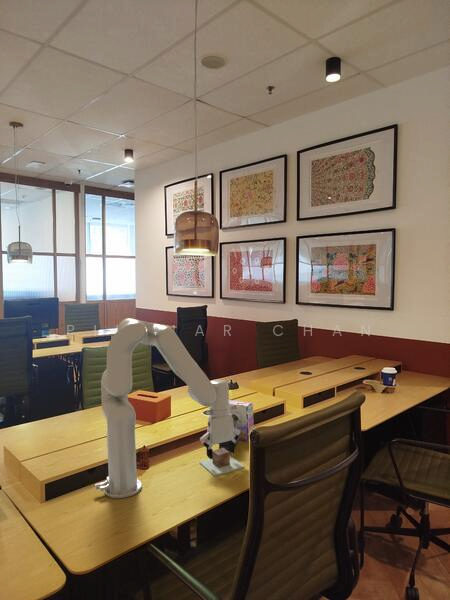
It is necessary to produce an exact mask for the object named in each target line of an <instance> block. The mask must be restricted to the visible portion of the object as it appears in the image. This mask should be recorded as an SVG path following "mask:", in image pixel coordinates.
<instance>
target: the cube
mask: <svg viewBox="0 0 450 600" xmlns="http://www.w3.org/2000/svg"><path fill="white" fill-rule="evenodd" d="M212 452H213V459H212V462H213V464H214V465H215V466H217V467H218V468H221V467H224V466H228V465H230V456H231V455H230V453H231V452H228V451H227V450H226V449H224V448H221V449H219V448H218V449H214V450H213V449H212Z"/></svg>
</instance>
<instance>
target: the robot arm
mask: <svg viewBox="0 0 450 600" xmlns="http://www.w3.org/2000/svg"><path fill="white" fill-rule="evenodd" d="M139 344H143V345H148V346H149V345H150V346H152V347H153V346H155V348H156V349H157V350H158V352H159V353H160V354H161V355H162V356H161V357H163V359H164V360H165V361H166V363H167V365H168V366H169V368H170V369H171V371H173V373H174V374H175V375H176V376H177V377H179V378H180V379H181V380H182V381H183V382H184V383H185V384H186V385H187V386H188V387H187V392H188V393H187V394H188V396H189V397H190V398H191V399H192V400H193V401H195V402H196V403H198V404H199V405H201V406H203V407H209V410H207V411H206V415H207V416H208V415H209V416H208V418H207V419H208V420H207V427H206V428H207V429H206V431H207V432H206V433H204V434H203V435H202V436H201V437H200V438H199V441H200V443H201V445H202V446H204V447H205V448H206V456H207V458H208V459H213V452H212V451H213V448H212V447H213V446H214V445H219V443H223V442H227V441H229V451H230V452H229V453H231V454H235V450H236V446H235V443H236V440H237V439H238V437H239V436H238V435H239V433H240V430H239V429H237V428H234V424H233V419H232V415H231V414H230V413H229V400H230V393H229V392H230V389H229V385H230V384H229V382H228V380H226V379H221V378H217V379H213V380H210V379H209V378H208V376H207V374H206V373H205V372H204V370H202V369H201V367H200V366H199V364H198V363H197V362H196V361H195V360H194V359H193V357H192V356H191V355H190V353H189V351H188V350H187V349H186V347H185V345H184V344H183V343H182V341H181V340H180V338H179V336H178V334H177V333H176V332H175V330H174V329H172V327H170V326H168V325H164V324H159V323H154V322H148V321H144V320H140V319H135V318H131V317H129V318H128V317H127V318H125V319H122V321H120V322H119V323H118V325H117V331H116V332H115V334H114V335H113V336H112V337H111V338H110V341H109V343H108V346H107V349H106V368H105V370H104V371H103V372H102V374H101V381H100V388H101V389H100V391H101V392H100V393H101V396H100V397H101V398H100V399H101V410H102V414H103V416H104V417H105V420H106V425H107V426H106V428H107V429H106V443H107V444H106V446H107V448H106V449H107V464H108V465H107V467H108V468H107V469H108V476H106V480H103V481H102V482H97V483H95V484H94V490H95V491H96V490H100V492H104V494H105V495H106V497H108V498H112V499H124V498H129V497H132V496H134V495H136V494H138V493H139V492H140V491H141V489H142V487H143V486H142V485H143V484H142V481H141V480H139V479H138V475H137V473H138V472H137V471H138V470H137V450H136V449H137V448H136V421H137V419H136V418H137V415H136V411H135V409H134V406H133V405H132V403H131V402H130V401H129V399H128V398H129V397H128V395H129V393H130V392H131V391H132V388H133V363H132V362H133V353H134V349H135V348H136V347H137V346H138V345H139ZM234 431H235V434H234ZM206 439H207V442H206ZM237 441H238V440H237Z"/></svg>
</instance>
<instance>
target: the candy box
mask: <svg viewBox="0 0 450 600" xmlns="http://www.w3.org/2000/svg"><path fill="white" fill-rule="evenodd" d="M229 413H230V414H231V415H232V419H233V420H237V429H239V430H240V433H239V435H238V436H239V437H238V439H237V441H242V442H247V443H249V442H250V441H249V433H250V431H251V430H253V429H254V427H255V425H254V403H253V402H249V401H248V402H247V401H241V400H233V399H229ZM254 430H255V429H254Z"/></svg>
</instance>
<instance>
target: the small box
mask: <svg viewBox="0 0 450 600" xmlns="http://www.w3.org/2000/svg"><path fill="white" fill-rule="evenodd" d="M233 424H234V428H237V420H233ZM234 434H235V431H234ZM237 443H238V440H236V443H235V447H236V446H237ZM221 448H224V449H226V450H227V451H228V452H229V453H231V452H230V451H229V441H227V442H223V443H219V444H218V449H221Z"/></svg>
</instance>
